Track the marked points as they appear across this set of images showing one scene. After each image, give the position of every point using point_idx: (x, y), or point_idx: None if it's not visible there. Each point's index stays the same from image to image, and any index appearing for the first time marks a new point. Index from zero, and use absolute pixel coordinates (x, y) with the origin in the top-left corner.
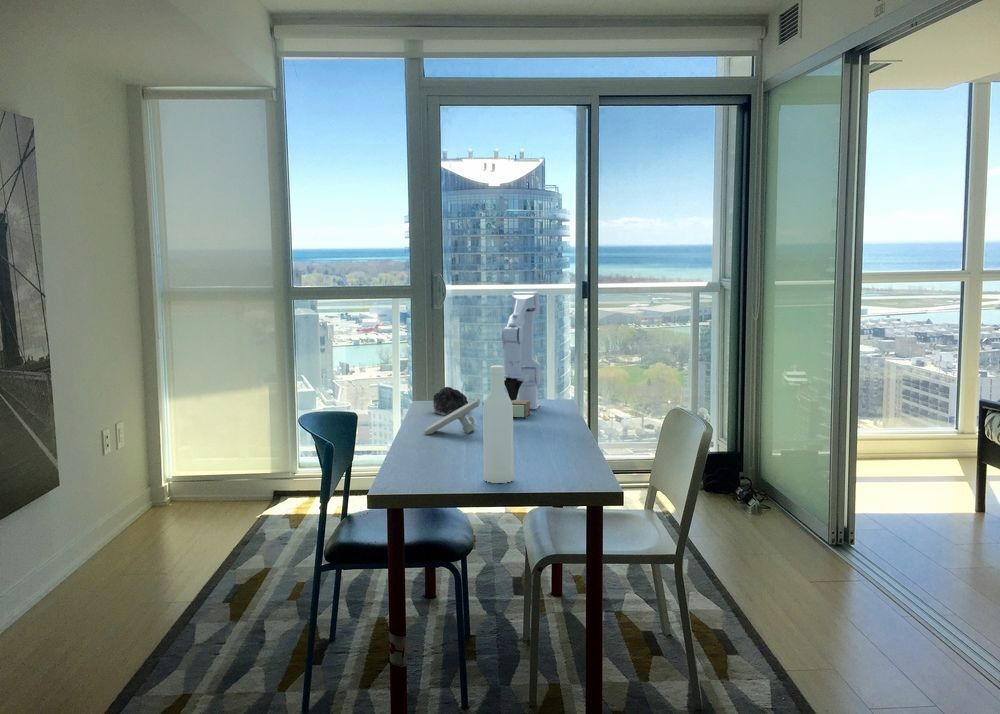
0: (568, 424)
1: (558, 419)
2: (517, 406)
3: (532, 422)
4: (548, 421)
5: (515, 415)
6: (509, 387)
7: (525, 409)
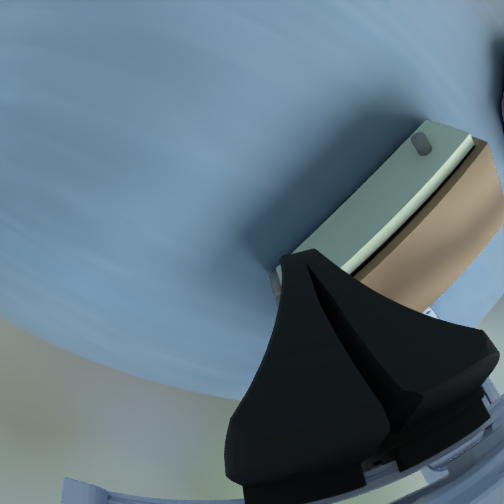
0: (88, 341)
1: (180, 355)
2: None
3: (167, 260)
4: (159, 319)
5: (311, 241)
6: (331, 339)
7: (276, 302)
